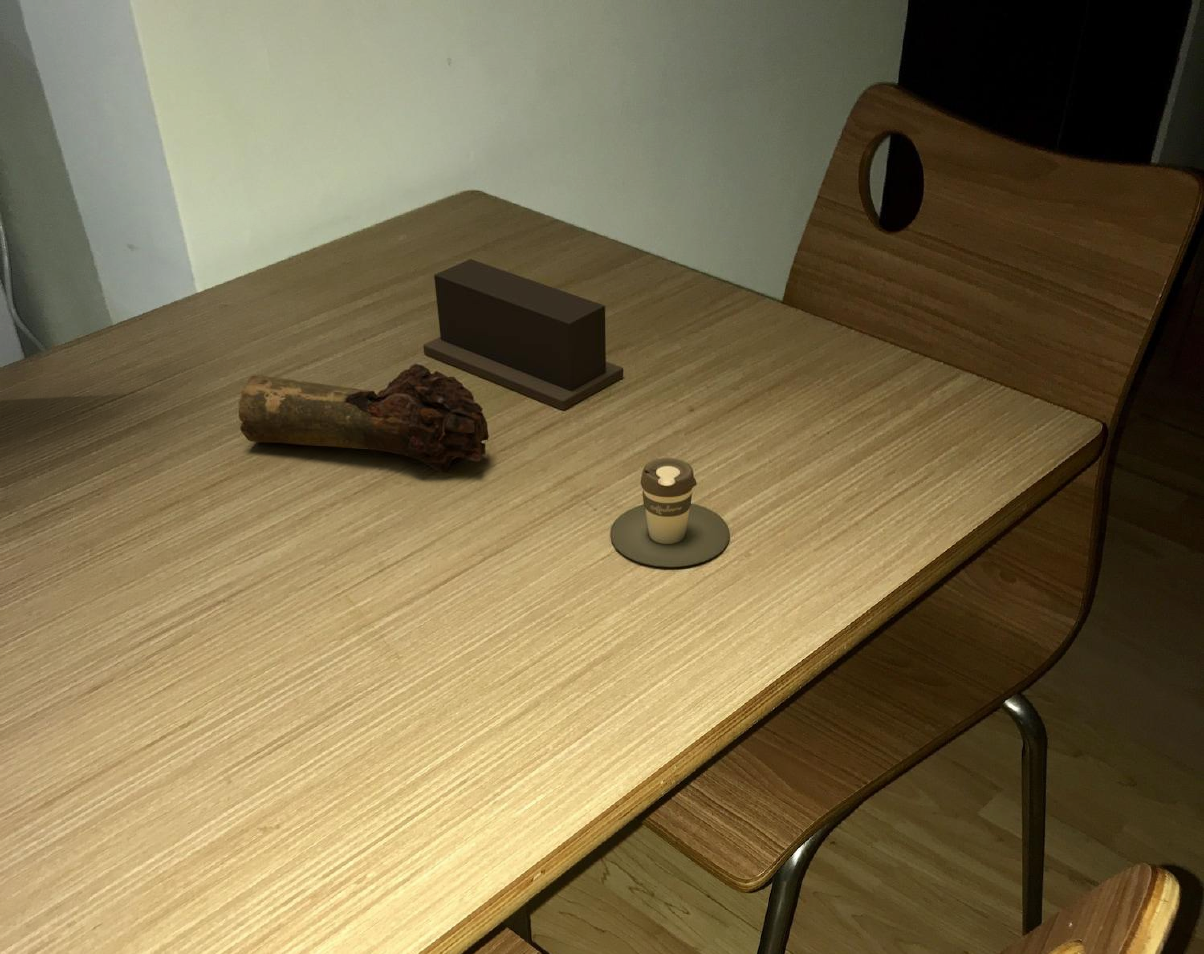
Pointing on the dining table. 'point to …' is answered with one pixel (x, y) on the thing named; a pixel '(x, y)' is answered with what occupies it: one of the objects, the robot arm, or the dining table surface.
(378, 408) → the gnarled wood log
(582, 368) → the dark brown block stand
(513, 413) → the dining table surface
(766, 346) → the dining table surface
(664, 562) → the coffee cup
